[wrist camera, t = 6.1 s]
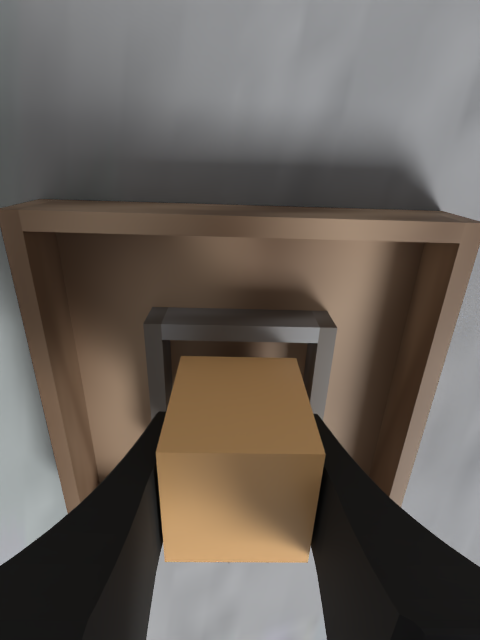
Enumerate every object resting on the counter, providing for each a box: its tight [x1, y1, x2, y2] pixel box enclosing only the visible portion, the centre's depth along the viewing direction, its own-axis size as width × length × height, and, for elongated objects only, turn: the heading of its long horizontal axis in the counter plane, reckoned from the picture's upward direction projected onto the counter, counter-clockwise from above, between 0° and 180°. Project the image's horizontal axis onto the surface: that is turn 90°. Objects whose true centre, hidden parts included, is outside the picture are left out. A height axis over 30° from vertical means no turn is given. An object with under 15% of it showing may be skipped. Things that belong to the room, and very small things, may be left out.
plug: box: [156, 356, 326, 562], centre depth 12 cm, size 4×4×4 cm
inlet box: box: [0, 199, 480, 513], centre depth 15 cm, size 14×14×2 cm
